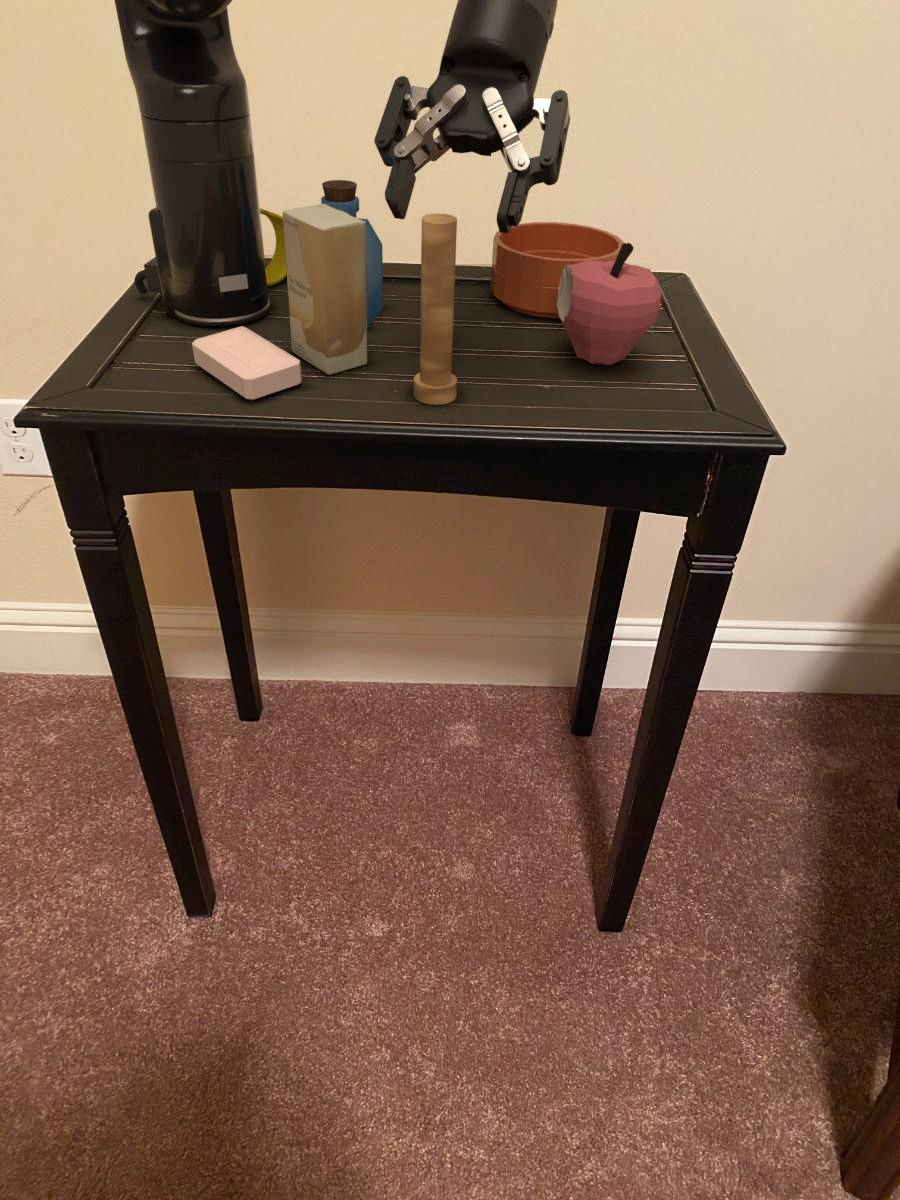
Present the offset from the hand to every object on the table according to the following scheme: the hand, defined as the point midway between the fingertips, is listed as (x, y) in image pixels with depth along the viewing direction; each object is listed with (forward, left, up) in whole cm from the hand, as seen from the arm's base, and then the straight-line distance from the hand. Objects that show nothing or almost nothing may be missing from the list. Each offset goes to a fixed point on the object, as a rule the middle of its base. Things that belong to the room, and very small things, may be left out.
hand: (448, 220), depth 64 cm
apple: (+13, +9, -14) cm, 21 cm away
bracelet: (-25, +23, -10) cm, 36 cm away
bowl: (+8, +24, -13) cm, 29 cm away
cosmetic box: (-11, +3, -14) cm, 18 cm away
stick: (0, -2, -13) cm, 14 cm away
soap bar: (-17, -2, -13) cm, 21 cm away
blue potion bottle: (-12, +14, -14) cm, 23 cm away
